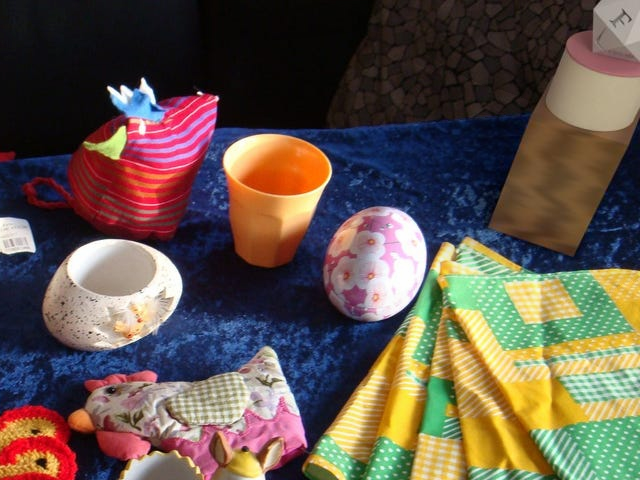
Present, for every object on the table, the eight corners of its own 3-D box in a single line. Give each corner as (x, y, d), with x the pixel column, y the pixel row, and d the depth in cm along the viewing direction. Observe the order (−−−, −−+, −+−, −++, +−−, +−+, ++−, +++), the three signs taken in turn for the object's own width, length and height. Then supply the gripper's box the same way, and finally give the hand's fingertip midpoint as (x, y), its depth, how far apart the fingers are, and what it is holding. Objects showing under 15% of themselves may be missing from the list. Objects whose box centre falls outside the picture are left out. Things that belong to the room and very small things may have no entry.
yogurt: (642, 100, 100) (669, 44, 95) (625, 141, 94) (654, 84, 89) (555, 77, 104) (577, 22, 99) (534, 115, 98) (556, 58, 93)
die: (564, 37, 97) (582, -11, 88) (634, -10, 96) (660, -64, 86) (610, 91, 95) (633, 48, 86) (683, 44, 94) (715, -5, 84)
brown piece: (590, 213, 113) (646, 100, 100) (571, 259, 107) (628, 144, 94) (509, 187, 117) (553, 75, 104) (486, 230, 110) (530, 116, 98)
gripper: (799, -165, 88) (749, 36, 90) (553, -188, 93) (509, 5, 94) (843, -211, 81) (788, 9, 82) (573, -233, 85) (526, -23, 87)
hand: (639, 7), depth 88 cm, fingers open, 13 cm apart
